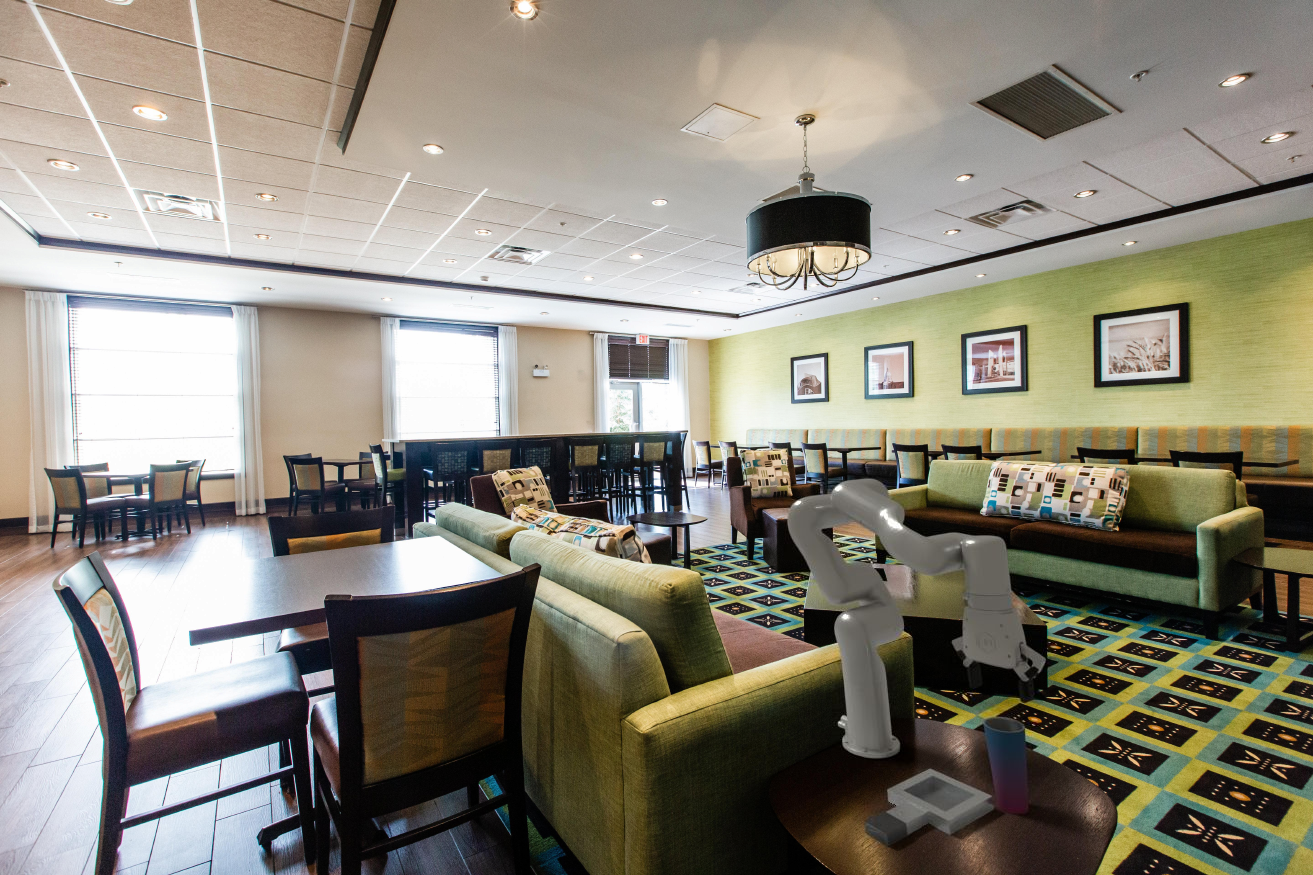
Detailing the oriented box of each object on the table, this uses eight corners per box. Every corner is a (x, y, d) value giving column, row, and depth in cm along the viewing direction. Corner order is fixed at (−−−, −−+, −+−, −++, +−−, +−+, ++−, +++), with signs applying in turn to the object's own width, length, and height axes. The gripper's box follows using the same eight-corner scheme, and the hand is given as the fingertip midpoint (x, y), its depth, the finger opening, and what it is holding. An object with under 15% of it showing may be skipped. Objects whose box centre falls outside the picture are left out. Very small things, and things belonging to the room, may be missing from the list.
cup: (1040, 817, 106) (1031, 732, 107) (999, 816, 108) (990, 731, 109) (1025, 797, 113) (1016, 716, 114) (986, 795, 114) (978, 716, 115)
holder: (931, 780, 121) (930, 768, 121) (993, 809, 110) (992, 795, 110) (848, 822, 109) (847, 808, 110) (908, 859, 98) (907, 844, 98)
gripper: (936, 598, 119) (946, 686, 117) (1025, 612, 104) (1037, 712, 102) (959, 592, 122) (969, 677, 121) (1048, 604, 107) (1061, 701, 106)
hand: (1000, 693), depth 112 cm, fingers open, 9 cm apart
